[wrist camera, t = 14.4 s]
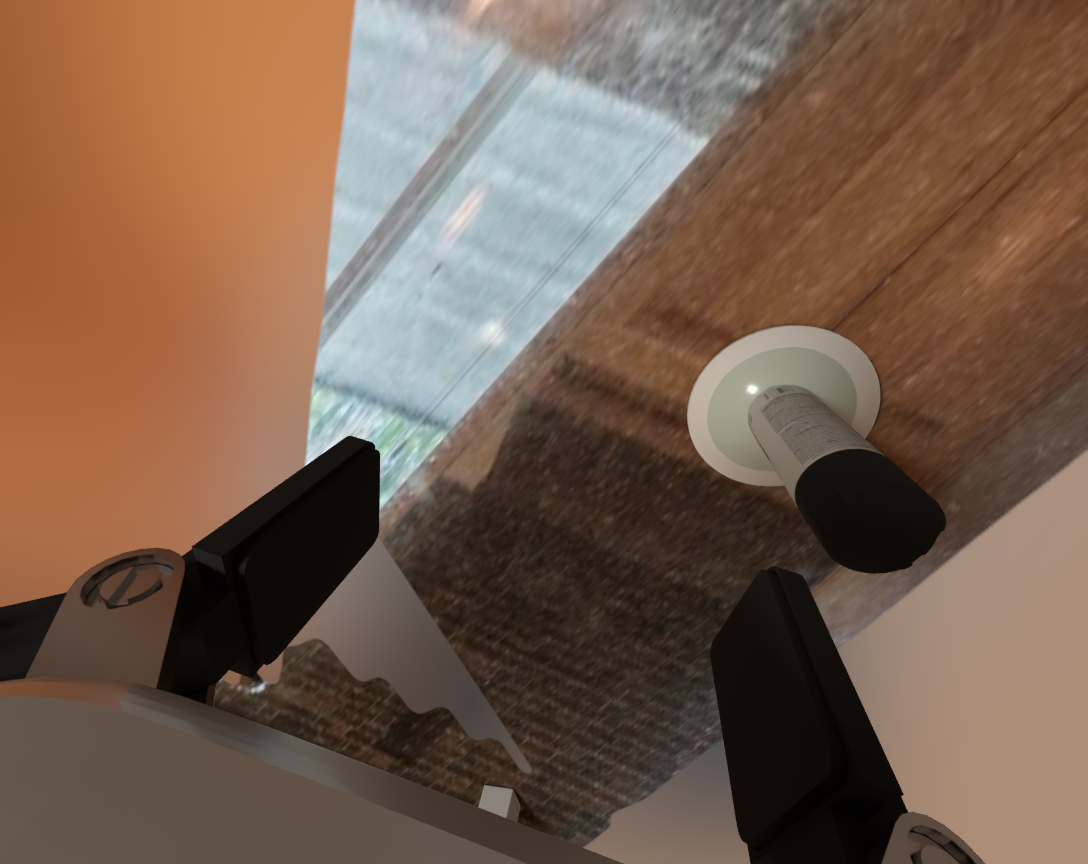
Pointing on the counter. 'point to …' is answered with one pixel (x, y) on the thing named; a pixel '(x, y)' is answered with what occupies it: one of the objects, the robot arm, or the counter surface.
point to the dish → (769, 362)
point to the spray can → (844, 484)
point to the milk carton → (500, 802)
